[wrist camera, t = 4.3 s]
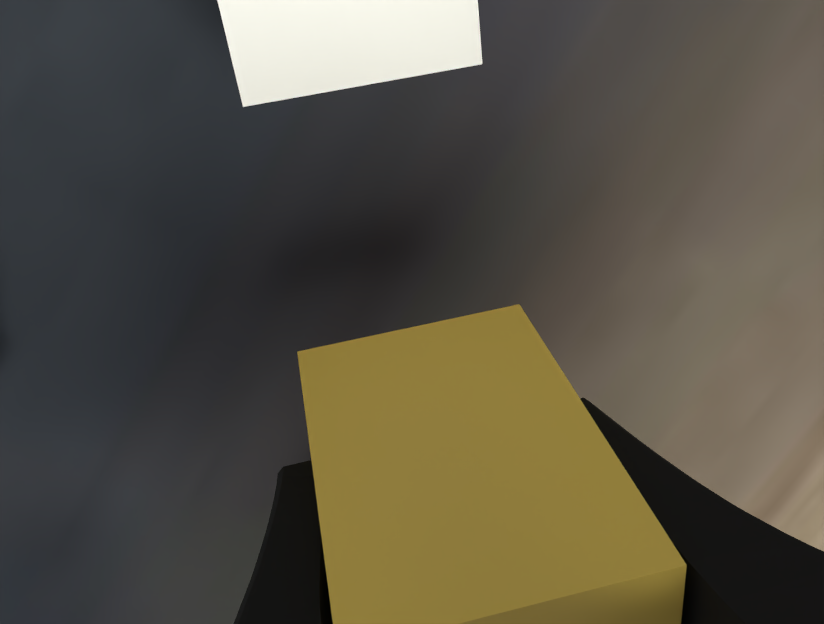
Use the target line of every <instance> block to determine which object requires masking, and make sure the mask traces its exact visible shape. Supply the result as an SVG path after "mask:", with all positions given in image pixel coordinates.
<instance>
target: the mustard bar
mask: <svg viewBox="0 0 824 624" xmlns="http://www.w3.org/2000/svg"><path fill="white" fill-rule="evenodd" d="M297 354H298V361H299V369H300V376H301V384H302V392H303V399H304V407H305V415H306V422H307V430H308V438H309V445H310V453H311V461H312V468H313V476H314V483H315V491H316V499H317V506H318V514H319V522H320V529H321V537H322V545H323V552H324V560H325V568H326V575H327V583H328V590H329V598H330V606H331V613H332V621H333V624H681V619H682V609H683V598H684V588H685V578H686V567H687V565H686V563H685V562H684V560H683V559H682V557H681V555H680V554H679V552H678V551H677V549H676V548H675V546H674V544H673V543H672V541H671V540H670V538H669V537H668V535H667V534H666V532H665V530H664V529H663V527H662V526H661V524H660V523H659V521H658V520H657V518H656V516H655V515H654V513H653V512H652V510H651V509H650V507H649V506H648V504H647V502H646V501H645V499H644V498H643V496H642V495H641V493H640V492H639V490H638V488H637V487H636V485H635V484H634V482H633V481H632V479H631V477H630V476H629V474H628V473H627V471H626V470H625V468H624V467H623V465H622V463H621V462H620V460H619V459H618V457H617V456H616V454H615V453H614V451H613V449H612V448H611V446H610V445H609V443H608V442H607V440H606V439H605V437H604V435H603V434H602V432H601V431H600V429H599V428H598V426H597V425H596V423H595V421H594V420H593V418H592V417H591V415H590V414H589V412H588V411H587V409H586V407H585V406H584V404H583V403H582V401H581V400H580V398H579V396H578V395H577V393H576V392H575V390H574V389H573V387H572V386H571V384H570V382H569V381H568V379H567V378H566V376H565V375H564V373H563V372H562V370H561V368H560V367H559V365H558V364H557V362H556V361H555V359H554V358H553V356H552V354H551V353H550V351H549V350H548V348H547V347H546V345H545V344H544V342H543V340H542V339H541V337H540V336H539V334H538V333H537V331H536V329H535V328H534V326H533V325H532V323H531V322H530V320H529V319H528V317H527V315H526V314H525V312H524V311H523V309H522V308H521V306H520V305H519V304H518V305H513V306H509V307H504V308H499V309H495V310H490V311H485V312H481V313H476V314H471V315H466V316H462V317H457V318H452V319H448V320H443V321H438V322H434V323H429V324H424V325H420V326H415V327H410V328H406V329H401V330H396V331H392V332H387V333H382V334H377V335H373V336H368V337H363V338H359V339H354V340H349V341H345V342H340V343H335V344H331V345H326V346H321V347H317V348H312V349H307V350H303V351H298V352H297Z"/></svg>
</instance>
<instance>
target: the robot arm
mask: <svg viewBox="0 0 824 624" xmlns="http://www.w3.org/2000/svg"><path fill="white" fill-rule="evenodd" d="M580 400H581V401H582V403H583V404H584V406H585V407H586V409H587V411H588V412H589V414H590V415H591V417H592V418H593V420H594V421H595V423H596V425H597V426H598V428H599V429H600V431H601V432H602V434H603V435H604V437H605V439H606V440H607V442H608V443H609V445H610V446H611V448H612V449H613V451H614V453H615V454H616V456H617V457H618V459H619V460H620V462H621V463H622V465H623V467H624V468H625V470H626V471H627V473H628V474H629V476H630V477H631V479H632V481H633V482H634V484H635V485H636V487H637V488H638V490H639V492H640V493H641V495H642V496H643V498H644V499H645V501H646V502H647V504H648V506H649V507H650V509H651V510H652V512H653V513H654V515H655V516H656V518H657V520H658V521H659V523H660V524H661V526H662V527H663V529H664V530H665V532H666V534H667V535H668V537H669V538H670V540H671V541H672V543H673V544H674V546H675V548H676V549H677V551H678V552H679V554H680V555H681V557H682V559H683V560H684V562H685V563H686V565H687V567H686V578H685V588H684V598H683V609H682V619H681V624H824V552H823V551H821V550H819V549H817V548H815V547H812V546H810V545H808V544H806V543H804V542H802V541H800V540H798V539H796V538H794V537H792V536H790V535H788V534H786V533H784V532H782V531H780V530H778V529H776V528H775V527H773V526H771V525H769V524H767V523H765V522H763V521H762V520H760V519H758V518H756V517H754V516H752V515H750V514H749V513H747V512H745V511H743V510H742V509H740V508H738V507H736V506H735V505H733V504H731V503H730V502H728V501H726V500H725V499H723V498H722V497H720V496H719V495H717V494H715V493H714V492H712V491H711V490H709V489H708V488H706V487H704V486H703V485H701V484H700V483H698V482H697V481H695V480H694V479H692V478H691V477H689V476H688V475H686V474H685V473H684V472H682V471H681V470H679V469H678V468H677V467H675V466H674V465H672V464H671V463H670V462H668V461H667V460H665V459H664V458H662V457H661V456H660V455H658V454H657V453H655V452H654V451H653V450H651V449H650V448H649V447H647V446H646V445H645V444H643V443H642V442H641V441H639V440H638V439H637V438H635V437H634V436H633V435H632V434H630V433H629V432H628V431H626V430H625V429H624V428H622V427H621V426H620V425H619V424H617V423H616V422H615V421H613V420H612V419H611V418H610V417H608V416H607V415H606V414H605V413H603V412H602V411H601V410H600V409H598V408H597V407H596V406H594V405H593V404H592V403H591V402H589V401H588V400H586V399H585V398H581V399H580ZM234 624H333V621H332V613H331V606H330V598H329V590H328V583H327V575H326V568H325V560H324V552H323V545H322V537H321V529H320V522H319V514H318V506H317V499H316V491H315V483H314V476H313V468H312V461H306V462H302V463H298V464H293V465H289V466H285V467H283V468H282V469H281V470H280V472H279V473H278V478H277V486H276V491H275V497H274V502H273V506H272V510H271V514H270V518H269V522H268V526H267V530H266V533H265V537H264V540H263V543H262V546H261V550H260V553H259V556H258V559H257V562H256V566H255V569H254V572H253V575H252V577H251V580H250V583H249V585H248V588H247V591H246V593H245V596H244V598H243V601H242V604H241V606H240V609H239V611H238V614H237V617H236V619H235V622H234Z"/></svg>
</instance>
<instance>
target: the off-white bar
mask: <svg viewBox="0 0 824 624" xmlns="http://www.w3.org/2000/svg"><path fill="white" fill-rule="evenodd" d="M217 1H218V5H219V9H220V13H221V17H222V21H223V26H224V30H225V34H226V38H227V42H228V46H229V50H230V55H231V59H232V63H233V67H234V71H235V75H236V79H237V84H238V88H239V92H240V96H241V100H242V104H243V107H245V106H251V105H257V104H262V103H268V102H273V101H279V100H285V99H290V98H296V97H301V96H307V95H313V94H318V93H324V92H329V91H335V90H340V89H346V88H352V87H357V86H363V85H368V84H374V83H380V82H385V81H391V80H396V79H402V78H408V77H413V76H419V75H424V74H430V73H436V72H441V71H447V70H452V69H458V68H463V67H469V66H475V65H480V64H482V52H481V39H480V25H479V11H478V0H217Z"/></svg>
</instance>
